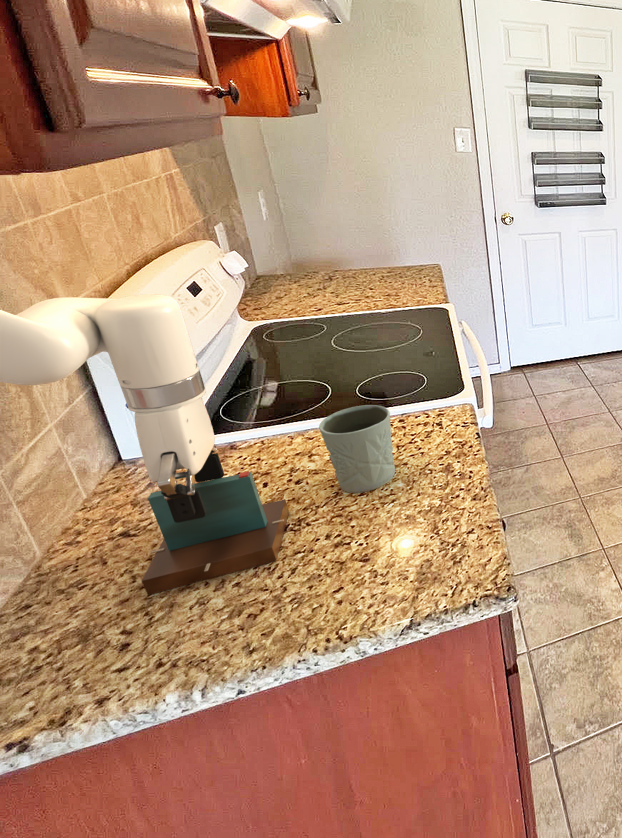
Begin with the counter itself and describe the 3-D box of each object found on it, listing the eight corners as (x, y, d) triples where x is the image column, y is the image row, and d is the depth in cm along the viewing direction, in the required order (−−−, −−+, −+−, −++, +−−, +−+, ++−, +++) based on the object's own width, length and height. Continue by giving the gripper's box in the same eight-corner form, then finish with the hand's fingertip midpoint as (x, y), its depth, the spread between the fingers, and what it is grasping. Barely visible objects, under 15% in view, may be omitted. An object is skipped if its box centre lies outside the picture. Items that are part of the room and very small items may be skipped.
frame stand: (137, 605, 74) (130, 590, 73) (174, 533, 87) (168, 519, 86) (279, 567, 81) (275, 552, 80) (295, 505, 93) (291, 491, 92)
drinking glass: (321, 494, 96) (304, 433, 92) (357, 460, 105) (343, 403, 101) (382, 495, 96) (368, 434, 92) (412, 461, 106) (400, 404, 101)
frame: (169, 551, 80) (146, 496, 76) (172, 544, 81) (150, 491, 78) (266, 527, 85) (249, 475, 81) (267, 521, 86) (250, 470, 83)
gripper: (150, 368, 80) (185, 471, 86) (97, 426, 65) (143, 545, 71) (218, 360, 83) (247, 460, 89) (182, 413, 69) (219, 528, 75)
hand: (201, 498), depth 80 cm, fingers open, 9 cm apart
